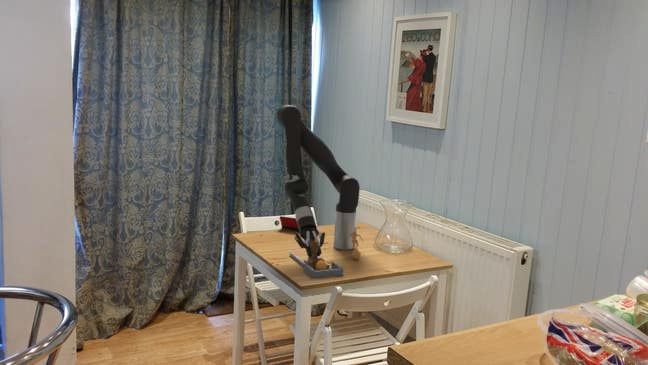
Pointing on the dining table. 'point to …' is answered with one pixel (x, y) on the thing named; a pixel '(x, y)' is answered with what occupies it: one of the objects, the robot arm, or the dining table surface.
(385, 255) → the dining table surface
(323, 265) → the ball
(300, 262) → the rails
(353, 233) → the figurine
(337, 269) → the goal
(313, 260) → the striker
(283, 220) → the red slanted panel
